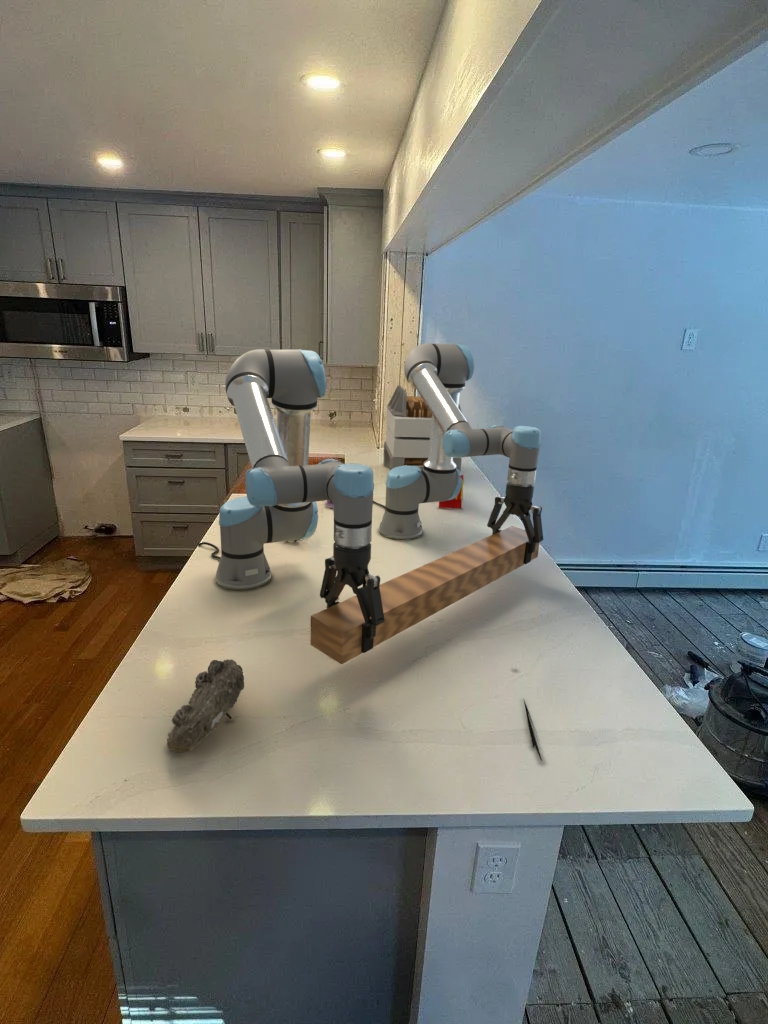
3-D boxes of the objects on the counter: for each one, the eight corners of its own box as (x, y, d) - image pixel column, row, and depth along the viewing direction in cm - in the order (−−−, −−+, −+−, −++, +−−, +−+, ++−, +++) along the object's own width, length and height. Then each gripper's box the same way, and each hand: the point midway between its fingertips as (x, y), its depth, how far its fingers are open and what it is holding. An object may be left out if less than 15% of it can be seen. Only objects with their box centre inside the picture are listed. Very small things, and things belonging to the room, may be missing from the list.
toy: (456, 466, 252) (467, 476, 223) (454, 496, 255) (465, 509, 225) (428, 465, 252) (437, 475, 222) (427, 495, 254) (435, 508, 225)
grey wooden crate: (382, 463, 289) (386, 382, 275) (445, 464, 293) (451, 384, 279) (390, 482, 257) (394, 392, 243) (460, 483, 261) (468, 394, 247)
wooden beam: (509, 547, 172) (512, 525, 170) (537, 557, 166) (540, 534, 164) (310, 645, 118) (310, 615, 116) (341, 664, 112) (342, 633, 110)
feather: (515, 674, 127) (521, 668, 126) (541, 765, 100) (548, 758, 100) (509, 670, 127) (514, 664, 126) (533, 761, 100) (540, 753, 99)
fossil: (192, 660, 117) (244, 628, 112) (224, 691, 120) (276, 661, 115) (142, 746, 98) (202, 712, 93) (182, 779, 101) (242, 748, 96)
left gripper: (301, 531, 117) (302, 625, 124) (379, 565, 103) (375, 670, 110) (329, 522, 122) (328, 614, 130) (407, 554, 108) (401, 654, 115)
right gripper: (479, 476, 161) (472, 548, 169) (550, 495, 147) (539, 573, 155) (493, 472, 167) (486, 542, 174) (564, 489, 152) (552, 565, 160)
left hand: (350, 639), depth 120 cm, fingers closed on wooden beam, 10 cm apart
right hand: (511, 556), depth 164 cm, fingers closed on wooden beam, 10 cm apart
